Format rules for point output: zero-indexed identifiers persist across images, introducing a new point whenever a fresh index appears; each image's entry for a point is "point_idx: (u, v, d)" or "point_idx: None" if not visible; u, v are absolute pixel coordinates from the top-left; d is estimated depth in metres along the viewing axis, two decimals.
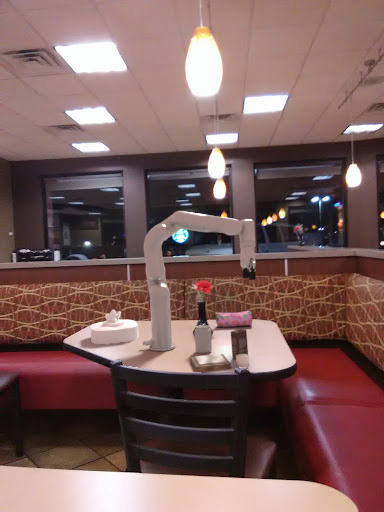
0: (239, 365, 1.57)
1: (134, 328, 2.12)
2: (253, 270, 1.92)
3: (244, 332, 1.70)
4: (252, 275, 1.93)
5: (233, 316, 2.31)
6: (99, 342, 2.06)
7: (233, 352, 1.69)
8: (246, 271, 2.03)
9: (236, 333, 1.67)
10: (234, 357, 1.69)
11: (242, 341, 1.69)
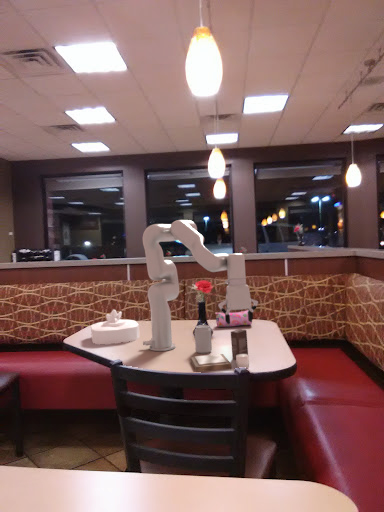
0: (239, 365, 1.57)
1: (135, 328, 2.12)
2: None
3: (244, 332, 1.70)
4: None
5: (233, 316, 2.31)
6: (100, 342, 2.06)
7: (233, 352, 1.69)
8: None
9: (236, 333, 1.67)
10: (234, 357, 1.69)
11: (242, 341, 1.69)
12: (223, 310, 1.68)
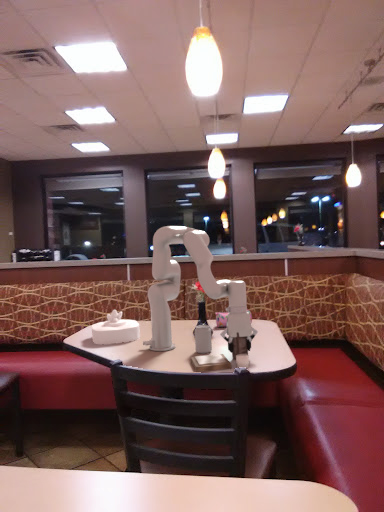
0: (239, 365, 1.57)
1: (135, 328, 2.12)
2: None
3: None
4: None
5: None
6: (101, 342, 2.06)
7: (233, 352, 1.69)
8: None
9: None
10: (234, 357, 1.69)
11: (242, 341, 1.69)
12: (226, 339, 1.68)
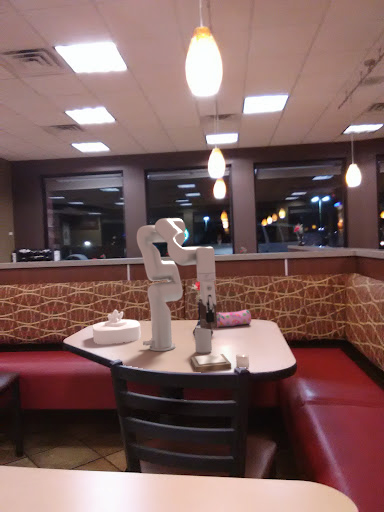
0: (239, 365, 1.57)
1: (136, 328, 2.12)
2: None
3: None
4: None
5: (233, 315, 2.33)
6: (101, 341, 2.06)
7: (211, 322, 1.60)
8: None
9: None
10: (212, 327, 1.60)
11: None
12: None
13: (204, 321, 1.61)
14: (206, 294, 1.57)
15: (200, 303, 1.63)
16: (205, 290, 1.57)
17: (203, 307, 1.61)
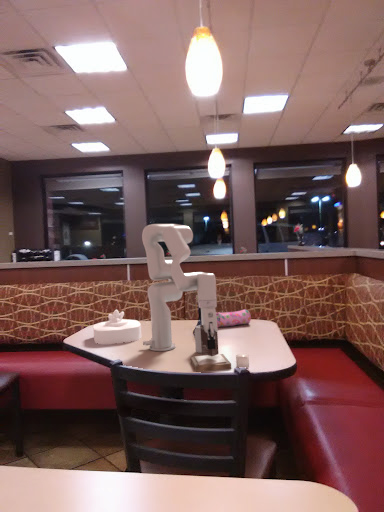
0: (239, 365, 1.57)
1: (137, 328, 2.12)
2: None
3: None
4: None
5: (233, 315, 2.34)
6: (102, 341, 2.06)
7: None
8: None
9: None
10: (213, 353, 1.61)
11: None
12: None
13: (206, 347, 1.62)
14: (207, 321, 1.58)
15: (201, 329, 1.63)
16: (206, 317, 1.58)
17: (204, 333, 1.62)
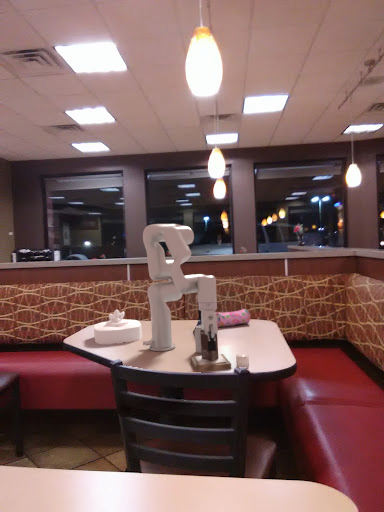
0: (239, 365, 1.57)
1: (137, 328, 2.12)
2: None
3: None
4: None
5: (233, 315, 2.34)
6: (102, 341, 2.06)
7: (212, 353, 1.60)
8: None
9: None
10: (213, 358, 1.61)
11: None
12: None
13: (206, 352, 1.62)
14: (207, 324, 1.58)
15: (201, 333, 1.63)
16: (206, 319, 1.58)
17: (204, 338, 1.62)
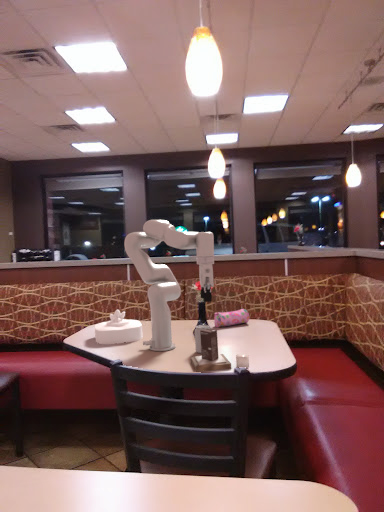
0: (239, 365, 1.57)
1: (138, 328, 2.11)
2: None
3: None
4: None
5: (232, 315, 2.35)
6: (103, 341, 2.06)
7: (212, 353, 1.60)
8: None
9: (215, 331, 1.62)
10: (213, 358, 1.61)
11: None
12: None
13: (206, 352, 1.62)
14: (204, 276, 1.68)
15: (201, 333, 1.63)
16: (203, 272, 1.68)
17: (204, 338, 1.62)
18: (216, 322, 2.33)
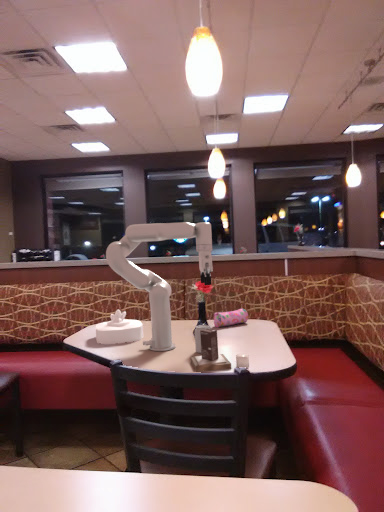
0: (239, 365, 1.57)
1: (138, 328, 2.11)
2: None
3: None
4: None
5: (232, 315, 2.35)
6: (104, 341, 2.06)
7: (212, 353, 1.60)
8: None
9: (215, 331, 1.62)
10: (213, 358, 1.61)
11: None
12: None
13: (206, 352, 1.62)
14: (204, 262, 1.85)
15: (201, 333, 1.63)
16: (203, 258, 1.85)
17: (204, 338, 1.62)
18: (216, 322, 2.33)
